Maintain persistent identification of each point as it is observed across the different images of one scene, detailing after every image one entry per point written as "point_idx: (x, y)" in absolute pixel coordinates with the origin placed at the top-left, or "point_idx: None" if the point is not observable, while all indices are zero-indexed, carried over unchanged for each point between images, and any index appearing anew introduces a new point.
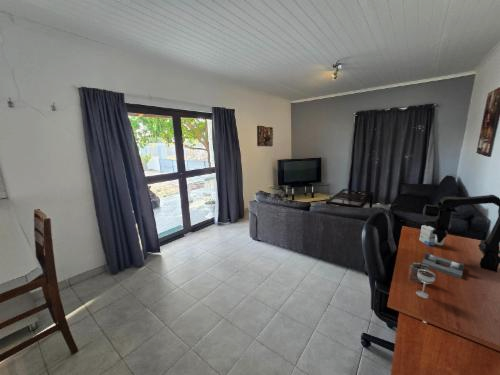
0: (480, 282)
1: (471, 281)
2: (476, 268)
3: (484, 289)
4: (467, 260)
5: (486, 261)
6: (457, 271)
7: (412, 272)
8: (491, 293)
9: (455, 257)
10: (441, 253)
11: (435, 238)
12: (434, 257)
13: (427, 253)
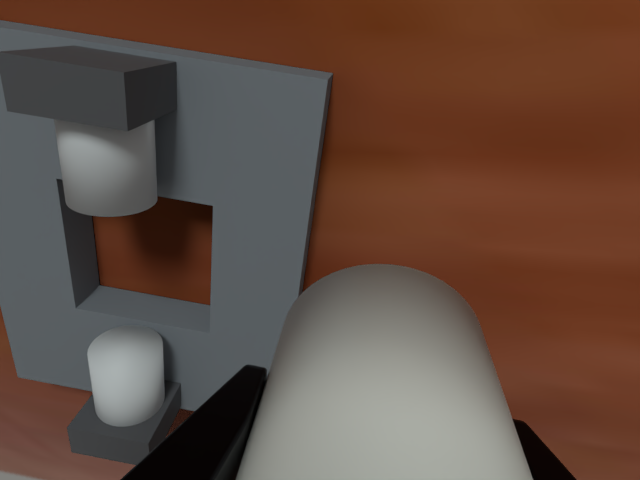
0: None
1: (70, 402)
2: None
3: (25, 443)
4: None
5: None
6: (68, 359)
7: None
8: (9, 461)
9: (516, 380)
10: (565, 266)
11: (331, 379)
12: (66, 191)
13: (52, 89)
